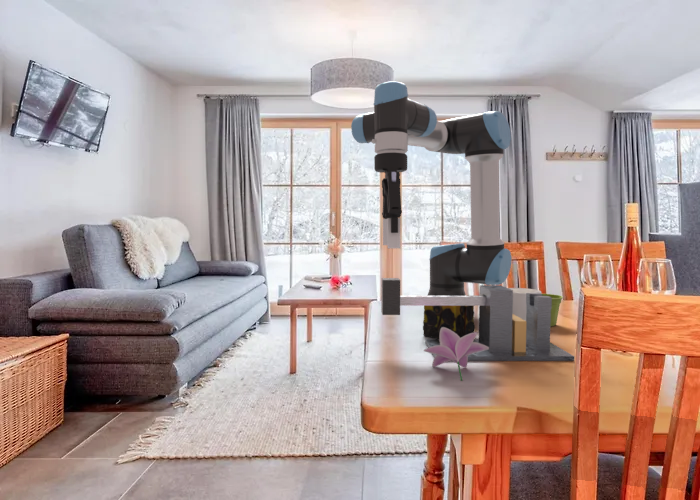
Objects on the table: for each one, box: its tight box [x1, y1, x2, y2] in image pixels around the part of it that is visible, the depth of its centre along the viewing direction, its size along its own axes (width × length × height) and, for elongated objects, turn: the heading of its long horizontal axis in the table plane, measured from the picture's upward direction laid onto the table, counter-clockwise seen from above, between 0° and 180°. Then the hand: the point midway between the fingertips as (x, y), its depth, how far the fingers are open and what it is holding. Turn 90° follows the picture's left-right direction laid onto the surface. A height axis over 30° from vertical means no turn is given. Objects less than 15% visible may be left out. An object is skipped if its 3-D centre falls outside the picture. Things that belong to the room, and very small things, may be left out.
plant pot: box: [542, 293, 564, 327], centre depth 127 cm, size 9×9×9 cm
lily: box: [423, 327, 489, 382], centre depth 83 cm, size 12×12×10 cm
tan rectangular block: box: [512, 314, 526, 352], centre depth 99 cm, size 8×2×7 cm, turn 179°
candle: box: [422, 295, 476, 339], centre depth 113 cm, size 10×10×10 cm
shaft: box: [380, 277, 487, 316], centre depth 98 cm, size 4×26×8 cm, turn 90°
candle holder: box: [507, 287, 542, 321], centre depth 115 cm, size 10×10×12 cm
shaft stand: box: [424, 284, 575, 362], centre depth 99 cm, size 14×30×15 cm, turn 90°
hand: (391, 246), depth 98 cm, fingers open, 13 cm apart
